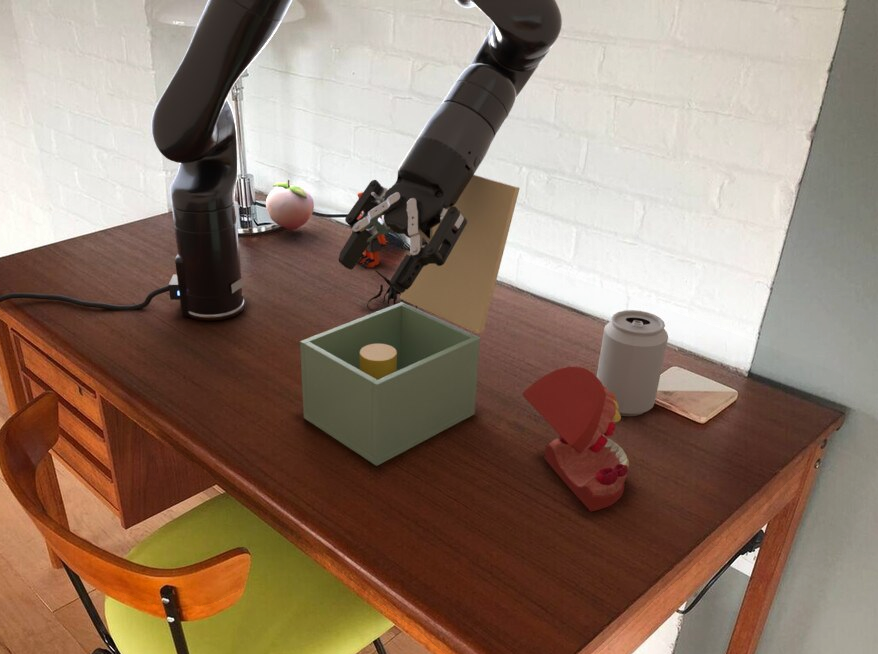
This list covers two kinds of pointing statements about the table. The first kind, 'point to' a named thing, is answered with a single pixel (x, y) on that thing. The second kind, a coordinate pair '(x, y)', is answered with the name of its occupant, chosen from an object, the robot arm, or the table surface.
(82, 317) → the table surface
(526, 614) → the table surface
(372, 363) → the round shape
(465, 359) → the green open box
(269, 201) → the decorative fruit
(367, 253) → the toy animal
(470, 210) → the lid
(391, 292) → the creature
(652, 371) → the can
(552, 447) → the anatomical model
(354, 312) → the table surface
